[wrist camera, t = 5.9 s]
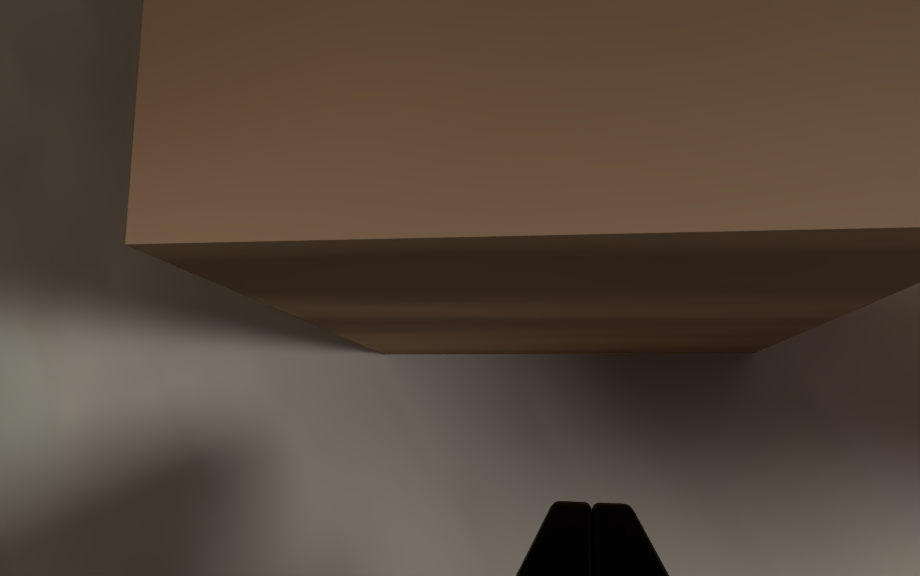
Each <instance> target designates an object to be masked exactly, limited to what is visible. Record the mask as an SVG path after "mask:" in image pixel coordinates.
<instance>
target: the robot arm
mask: <svg viewBox="0 0 920 576" xmlns="http://www.w3.org/2000/svg"><path fill="white" fill-rule="evenodd" d="M516 576H669V574H668V573H667V571H666V569H665V567H664V565H663V563H662V562H661V560H660V558H659V556H658V554H657V552H656V551H655V549H654V547H653V545H652V543H651V541H650V540H649V538H648V536H647V534H646V532H645V530H644V528H643V527H642V525H641V523H640V521H639V519H638V517H637V516H636V514H635V512H634V510H633V509H632V508H631V507H630V506H629V505H627V504H619V503H596V504H595V505H594V506H593V507H592V511H591V507H590V505H589V504H588V503H586V502H570V501H557V502H555V503H554V504H553V505H552V506H551V507H550V509H549V511H548V513H547V515H546V517H545V519H544V521H543V523H542V525H541V527H540V529H539V531H538V533H537V535H536V537H535V539H534V541H533V543H532V545H531V547H530V549H529V551H528V553H527V555H526V557H525V559H524V561H523V563H522V565H521V567H520V569H519V571H518V573H517V575H516Z"/></svg>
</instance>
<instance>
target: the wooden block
mask: <svg viewBox="0 0 920 576" xmlns="http://www.w3.org/2000/svg"><path fill="white" fill-rule="evenodd" d="M125 245H128V246H130V247H133V248H135V249H137V250H140V251H142V252H144V253H147V254H149V255H151V256H154V257H156V258H158V259H161V260H163V261H165V262H168V263H170V264H172V265H175V266H177V267H180V268H182V269H184V270H187V271H189V272H191V273H194V274H196V275H198V276H201V277H203V278H205V279H208V280H210V281H212V282H215V283H217V284H220V285H222V286H224V287H227V288H229V289H231V290H234V291H236V292H238V293H241V294H243V295H245V296H248V297H250V298H252V299H255V300H257V301H259V302H262V303H264V304H267V305H269V306H271V307H274V308H276V309H278V310H281V311H283V312H285V313H288V314H290V315H292V316H295V317H297V318H299V319H302V320H304V321H307V322H309V323H311V324H314V325H316V326H318V327H321V328H323V329H325V330H328V331H330V332H332V333H335V334H337V335H339V336H342V337H344V338H346V339H349V340H351V341H354V342H356V343H358V344H361V345H363V346H365V347H368V348H370V349H372V350H375V351H377V352H379V353H382V354H568V353H755V352H757V351H759V350H762V349H764V348H766V347H769V346H771V345H773V344H776V343H778V342H780V341H783V340H785V339H788V338H790V337H792V336H795V335H797V334H799V333H802V332H804V331H806V330H809V329H811V328H813V327H816V326H818V325H820V324H823V323H825V322H828V321H830V320H832V319H835V318H837V317H839V316H842V315H844V314H846V313H849V312H851V311H853V310H856V309H858V308H860V307H863V306H865V305H868V304H870V303H872V302H875V301H877V300H879V299H882V298H884V297H886V296H889V295H891V294H893V293H896V292H898V291H901V290H903V289H905V288H908V287H910V286H912V285H915V284H917V283H919V282H920V0H143V12H142V25H141V38H140V52H139V65H138V78H137V92H136V105H135V118H134V132H133V145H132V158H131V172H130V185H129V199H128V212H127V225H126V239H125Z"/></svg>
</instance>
